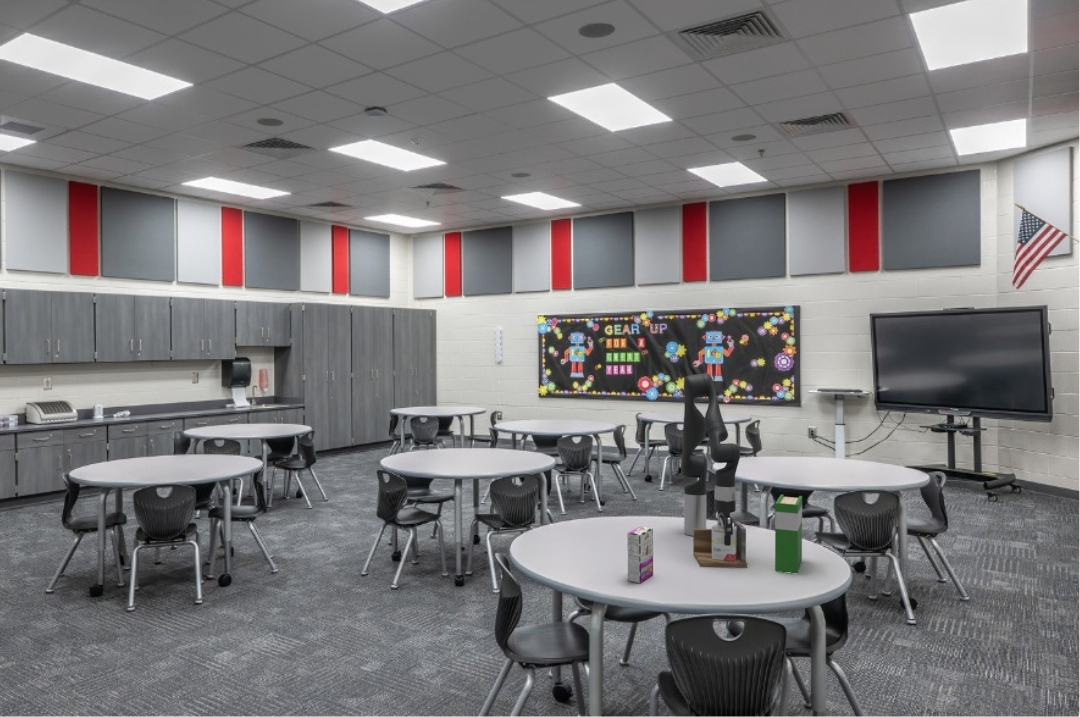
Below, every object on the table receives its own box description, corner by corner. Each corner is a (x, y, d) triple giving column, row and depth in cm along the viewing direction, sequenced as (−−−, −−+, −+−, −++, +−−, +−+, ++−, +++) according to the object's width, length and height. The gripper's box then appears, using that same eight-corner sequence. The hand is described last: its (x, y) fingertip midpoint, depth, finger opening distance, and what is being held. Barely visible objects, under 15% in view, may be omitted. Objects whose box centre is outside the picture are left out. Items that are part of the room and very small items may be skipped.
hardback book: (780, 558, 258) (781, 494, 258) (801, 560, 255) (802, 496, 255) (775, 571, 242) (775, 503, 242) (797, 574, 239) (797, 505, 239)
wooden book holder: (693, 555, 262) (693, 519, 262) (737, 555, 261) (737, 520, 261) (700, 566, 247) (700, 529, 247) (747, 567, 246) (747, 530, 246)
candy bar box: (640, 572, 239) (640, 525, 240) (653, 575, 237) (653, 527, 237) (626, 581, 230) (626, 532, 230) (640, 584, 227) (640, 534, 227)
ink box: (737, 558, 252) (737, 526, 252) (735, 561, 248) (735, 529, 248) (713, 555, 256) (713, 523, 256) (711, 559, 251) (711, 526, 251)
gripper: (710, 494, 259) (710, 537, 259) (718, 501, 245) (718, 547, 245) (731, 494, 259) (730, 537, 259) (740, 502, 244) (739, 547, 244)
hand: (724, 542), depth 252 cm, fingers open, 8 cm apart
